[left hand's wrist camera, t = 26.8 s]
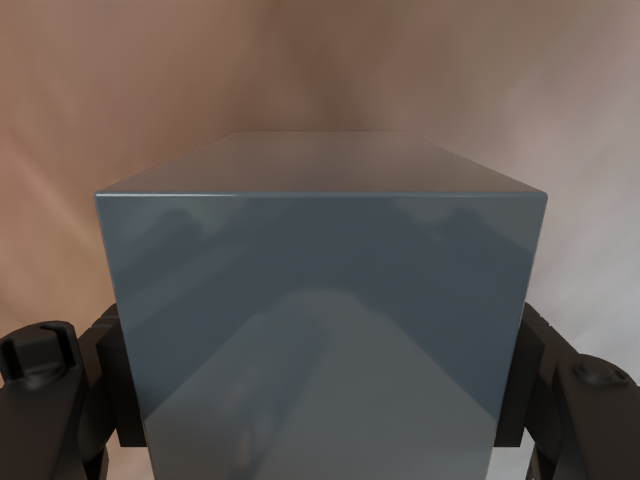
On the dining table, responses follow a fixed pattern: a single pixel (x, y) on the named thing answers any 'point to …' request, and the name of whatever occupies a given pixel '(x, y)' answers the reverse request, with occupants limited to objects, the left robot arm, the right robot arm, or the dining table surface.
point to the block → (320, 305)
